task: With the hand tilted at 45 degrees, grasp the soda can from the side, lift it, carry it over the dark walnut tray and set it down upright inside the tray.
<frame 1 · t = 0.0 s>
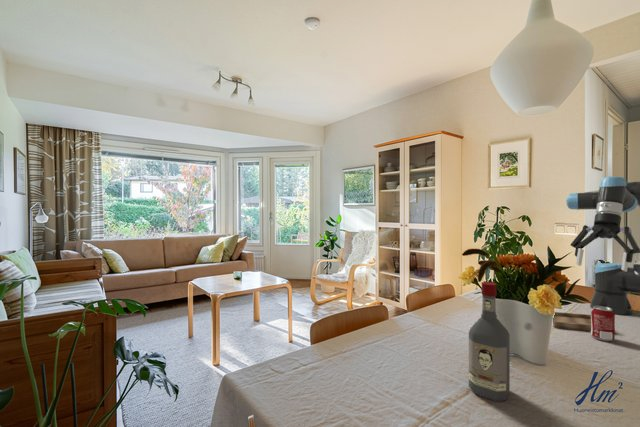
hand: (600, 267, 116), 28 cm above the table, tool tilted 20°, fingers open, 13 cm apart
walnut tray: (574, 324, 133), on the table
soda can: (602, 339, 118), on the table
liquor: (488, 391, 84), on the table
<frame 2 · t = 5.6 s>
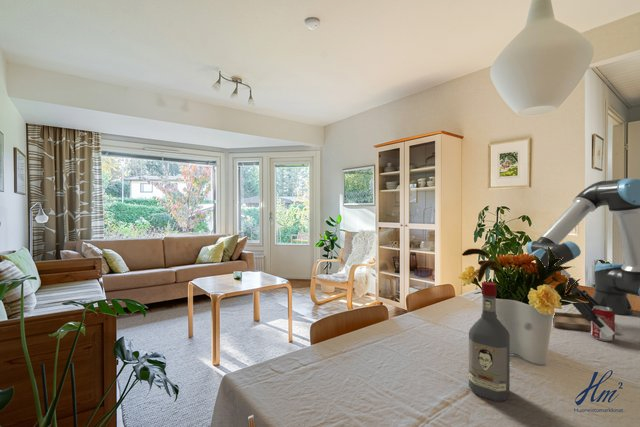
hand: (614, 332, 115), 3 cm above the table, tool tilted 45°, fingers closed on soda can, 7 cm apart
soda can: (602, 339, 118), on the table, touching gripper
everything else where it was.
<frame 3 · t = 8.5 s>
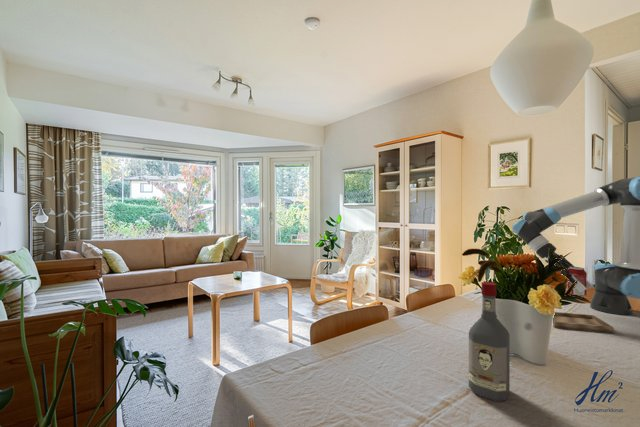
hand: (586, 289, 129), 16 cm above the table, tool tilted 45°, fingers closed on soda can, 7 cm apart
soda can: (576, 295, 132), point 13 cm above the table, touching gripper
everything else where it was.
when the fingers open (6 cm above the table, at t = 11.3 s): soda can drops 1 cm, resting on walnut tray.
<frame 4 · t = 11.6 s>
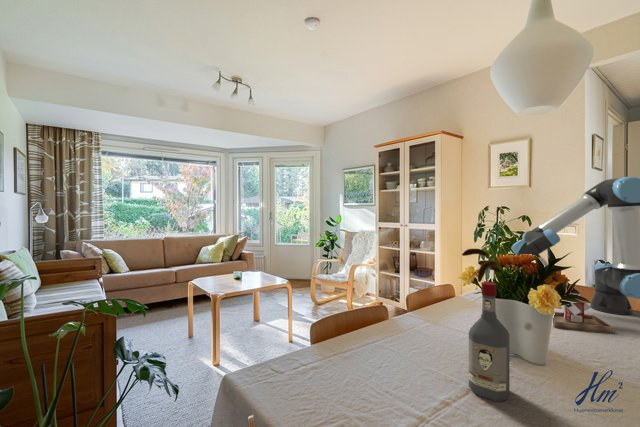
hand: (583, 311, 130), 7 cm above the table, tool tilted 45°, fingers open, 10 cm apart
soda can: (573, 322, 133), point 1 cm above the table, touching walnut tray
everything else where it was.
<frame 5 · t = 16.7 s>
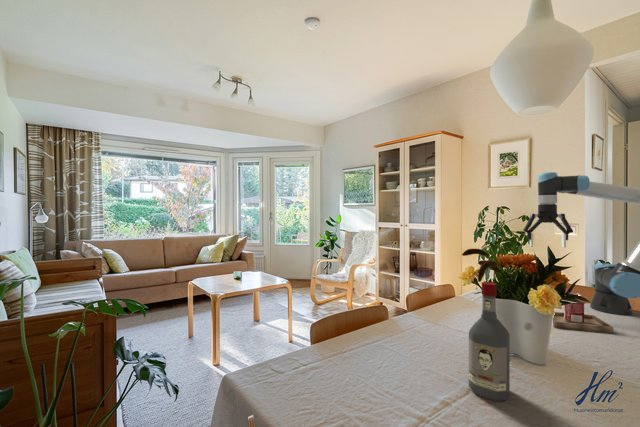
hand: (547, 246, 151), 32 cm above the table, tool pointing down, fingers open, 13 cm apart
nothing on the table moved.
at the end: soda can inside the target area on the walnut tray (0.2 cm from its centre), point 0.8 cm above the walnut tray's base; soda can tilted 0°; the gripper is holding nothing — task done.
